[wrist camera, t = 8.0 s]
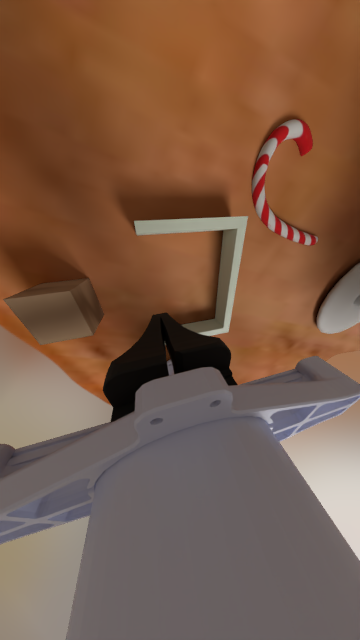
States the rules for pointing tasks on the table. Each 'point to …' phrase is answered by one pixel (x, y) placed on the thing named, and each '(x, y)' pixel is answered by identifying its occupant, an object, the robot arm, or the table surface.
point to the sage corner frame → (228, 262)
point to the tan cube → (58, 310)
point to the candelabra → (341, 304)
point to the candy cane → (285, 131)
